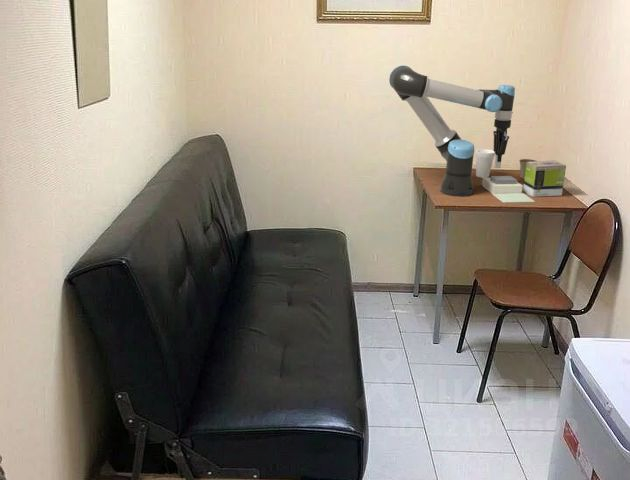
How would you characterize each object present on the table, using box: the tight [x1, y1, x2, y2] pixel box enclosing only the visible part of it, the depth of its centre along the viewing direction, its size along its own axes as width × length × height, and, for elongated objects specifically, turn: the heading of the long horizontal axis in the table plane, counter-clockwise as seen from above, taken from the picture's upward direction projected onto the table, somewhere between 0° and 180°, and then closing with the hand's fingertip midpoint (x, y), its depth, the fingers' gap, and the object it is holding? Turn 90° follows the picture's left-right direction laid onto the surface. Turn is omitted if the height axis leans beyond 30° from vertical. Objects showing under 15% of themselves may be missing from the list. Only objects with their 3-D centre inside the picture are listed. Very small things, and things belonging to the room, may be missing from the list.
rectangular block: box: [490, 175, 518, 184], centre depth 300 cm, size 10×7×2 cm
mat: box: [492, 192, 536, 204], centre depth 290 cm, size 15×12×1 cm
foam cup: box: [474, 148, 495, 179], centre depth 323 cm, size 10×9×13 cm
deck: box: [481, 177, 524, 195], centre depth 302 cm, size 14×14×4 cm
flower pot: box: [519, 158, 537, 180], centre depth 323 cm, size 9×9×9 cm
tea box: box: [522, 160, 567, 198], centre depth 296 cm, size 15×10×15 cm
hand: (497, 167), depth 308 cm, fingers closed
